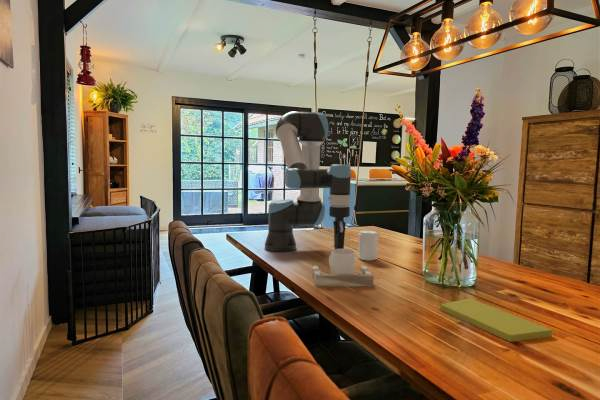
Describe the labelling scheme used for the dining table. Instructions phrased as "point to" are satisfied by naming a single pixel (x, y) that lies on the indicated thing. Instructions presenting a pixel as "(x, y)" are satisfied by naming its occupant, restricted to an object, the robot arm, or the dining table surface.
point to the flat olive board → (495, 320)
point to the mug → (342, 261)
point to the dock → (343, 278)
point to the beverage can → (368, 245)
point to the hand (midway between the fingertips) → (338, 267)
